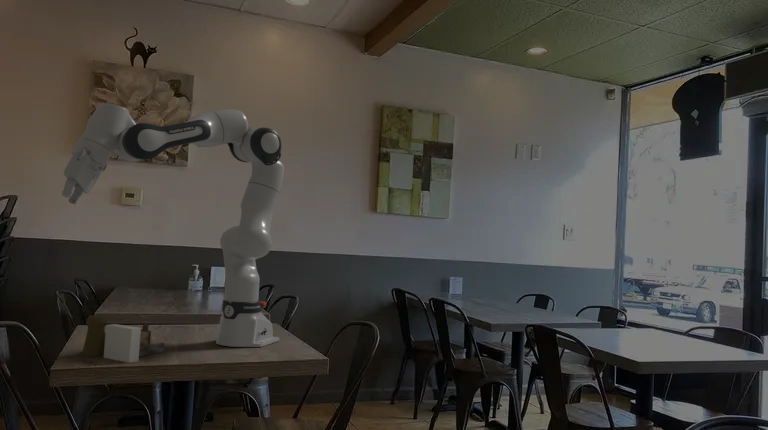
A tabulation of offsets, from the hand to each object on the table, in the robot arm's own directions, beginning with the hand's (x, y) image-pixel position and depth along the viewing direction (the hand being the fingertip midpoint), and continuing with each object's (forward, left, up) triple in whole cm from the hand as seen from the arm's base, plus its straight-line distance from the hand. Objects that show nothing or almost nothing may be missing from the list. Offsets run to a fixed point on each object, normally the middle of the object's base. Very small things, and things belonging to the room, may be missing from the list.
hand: (68, 199), depth 156 cm
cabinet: (-19, +6, -43) cm, 47 cm away
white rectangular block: (-10, +13, -43) cm, 46 cm away
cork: (-10, +3, -43) cm, 44 cm away
